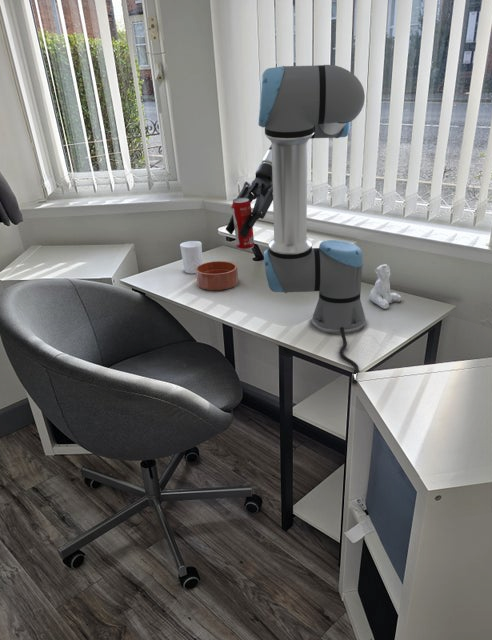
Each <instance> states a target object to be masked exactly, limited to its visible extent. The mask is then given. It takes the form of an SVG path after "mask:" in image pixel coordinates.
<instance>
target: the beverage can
mask: <svg viewBox="0 0 492 640" xmlns="http://www.w3.org/2000/svg"><path fill="white" fill-rule="evenodd" d="M251 203H252V202H251ZM251 203H250V201H249V199H248V198H237V197H236V198H234V199H232V203H231V207H232V208H231V210H232V215H233V218H234V228H235V230H234V236H235V246H236V248H237V250H241V251H243V250H244V251H246V250H251V249H254V247H255V238H254V237H255V236H254V226H253V227H252V228H251V229H250V231H249V233H248V235H247V236H246V238H244V237H243V236H242V235H241V234H240V233H239V232H240V230H241V228H242V226H243V225H244V223H245V221H246V219H247V217H248V216H249V215H251V216H252V214H251V213H250V212H252V204H251Z"/></svg>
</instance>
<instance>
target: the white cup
mask: <svg viewBox="0 0 492 640" xmlns="http://www.w3.org/2000/svg"><path fill="white" fill-rule="evenodd" d="M179 249H180V253H181V254H180V255H181V260H182V264H183V270H184V272H185V273H186V274H196V267H197V266H199V265H201V264H203V263H204V262H203V261H204V260H203V244H202V242H201V241H198V240H187V241H183V242H182V243H180V244H179Z"/></svg>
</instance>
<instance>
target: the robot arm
mask: <svg viewBox="0 0 492 640" xmlns="http://www.w3.org/2000/svg"><path fill="white" fill-rule="evenodd" d="M260 85H261V86H260V95H259V109H258V124H257V125H258V126H259V127H261V128H264V136H265V137H266V138H267V139H268V140H269V141H270V146H269V148H268V149H267V151H266V153H265V154H264V156H263V158H262V160H261V163H259V166H258V167H257V169H256V171H255V178H254V179H253V180H252V181H251V182H248V181H245V182H244V183H243V186H242V189H241V190H240V192H239V194H238V195H237V197H236V199H237V198H248V199H249V201H250V203H252V202H253V201H255V202H254V205H253V207H252V208H253V209H252V211H251V212H250V213H251V214H252V216H251V215H249V216H248V217H247V219H246V221H245V223H244V225H243V226H242V228H241V230H240V232H239V233H240V234H241V235H242V236H243V237H244V238H246V236H247V235H248V233H249V231H250V229H251V228H252V227H253V228H254V226H255V224H256V222H257V221H258V220H259V219H261V220H263V219H264V218H265V217H266V215H267V213H268V211H269V208H270V207H271V205H272V206H273V208H272V209H273V211H272V212H273V238H272V239H271V240H270V241H269V242H268V248H267V249H265V250H263V261H264V268H265V276H266V282H267V285H268V288H269V290H270V291H271V292H273V293H284V294H288V293H305V292H306V293H307V292H318V300H317V303H316V305H315V308H314V311H313V314H312V320H311V322H312V323H311V324H312V327H313V328H314V329H316V330H317V331H319V332H322V333H324V334H328V335H329V334H331V335H340V336H341V339H342V346H341V348H340V350H339V357H340V358H341V359H342V360H343V361H345V363H346V362H347V363H348V364H350V365H351V366H352V367H353V368H354V370H353V373H352V375H353V374H356V373H358V374H359V371H360V368H359V366H358V364H357V362H356V361H354V360H352V359H351V358H349V357H347V356H346V354H345V353H344V352H345V351H346V348H347V346H348V341H347V338H346V335H349V334H354V333H357V332H360V331H361V330H362V329H364V328H365V326H366V315H365V312H364V308H363V304H362V300H361V290H362V274H363V273H362V271H363V267H364V263H363V251H362V249H361V248H360V247H359V246H358V245H356V244H354V243H352V242H348V241H344V240H338V239H327V240H323V241H321V242H320V244H319V245H318V247H313V243H312V240H310V239H309V238H308V236H307V225H308V223H307V220H308V219H307V218H308V217H307V215H308V213H307V211H308V142H309V140H310V139H338V138H346V137H348V136H349V134H350V130H351V129H350V128H351V122H352V121H354V120H356V118H357V117H358V116H359V115H360V114H361V112H362V111H363V108H364V105H365V99H366V98H365V97H366V95H365V89H364V86H363V84H362V83H361V81H360V80H359V78H358V77H357V76H356V75H355V74H354V73H352V72H351V71H350V70H348V69H346V68H344V67H342V66H338V65H335V64H322V65H321V64H319V65H281V66H274V67H269V68H266V69H265V70H264V71H263V73H262V75H261V83H260ZM230 208H231V209H232V206H231V207H230ZM225 231H226V232H228V233H229V235H233V234H234V233H235V228H234V218H233V214H231V217H230V219H229V221H228V224H227V225H226V227H225ZM357 383H358V380H357V381H356V380H354V378H353V377H352V384H353V385H354V384H355V385H356V384H357Z"/></svg>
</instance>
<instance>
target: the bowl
mask: <svg viewBox="0 0 492 640" xmlns="http://www.w3.org/2000/svg"><path fill="white" fill-rule="evenodd" d="M195 276H196V284H197V286H198V287H199V288H201V289H202V290H206V291H215V292H216V291H225V290H228V289H231V288H233V287H235V286H237V284H238V283H239V275H238V265H237V264H236V262H235V263H234V262H231V261H227V260H213V261H212V260H211V261H207V262H203V263H202V264H201V265H199V266H197V267H196V273H195Z"/></svg>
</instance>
